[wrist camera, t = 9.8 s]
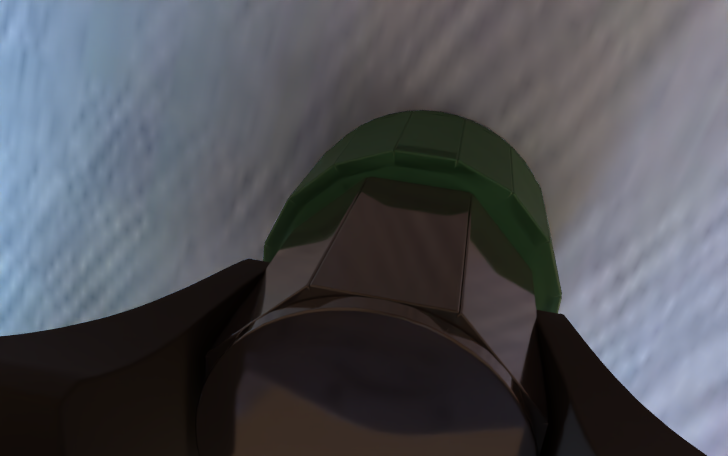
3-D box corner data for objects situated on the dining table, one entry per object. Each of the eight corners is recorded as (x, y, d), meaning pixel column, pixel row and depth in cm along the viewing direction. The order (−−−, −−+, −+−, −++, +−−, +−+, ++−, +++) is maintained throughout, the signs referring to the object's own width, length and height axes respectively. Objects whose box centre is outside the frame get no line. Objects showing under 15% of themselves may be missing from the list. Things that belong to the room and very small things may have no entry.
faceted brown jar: (283, 369, 17) (193, 548, 12) (296, 164, 15) (193, 278, 10) (500, 411, 16) (502, 621, 11) (548, 203, 14) (577, 348, 9)
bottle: (298, 311, 21) (220, 456, 15) (314, 93, 18) (226, 164, 12) (519, 352, 20) (530, 522, 14) (571, 130, 17) (611, 226, 11)
